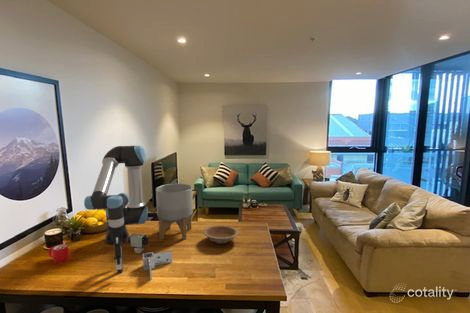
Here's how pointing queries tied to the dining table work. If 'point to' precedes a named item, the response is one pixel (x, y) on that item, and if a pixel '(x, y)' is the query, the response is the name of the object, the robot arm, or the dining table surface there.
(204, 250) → the dining table surface
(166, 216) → the planter
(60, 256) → the mug
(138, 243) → the pneumatic valve
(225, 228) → the bowl
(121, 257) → the pin
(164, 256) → the hinge leaves
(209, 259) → the dining table surface
